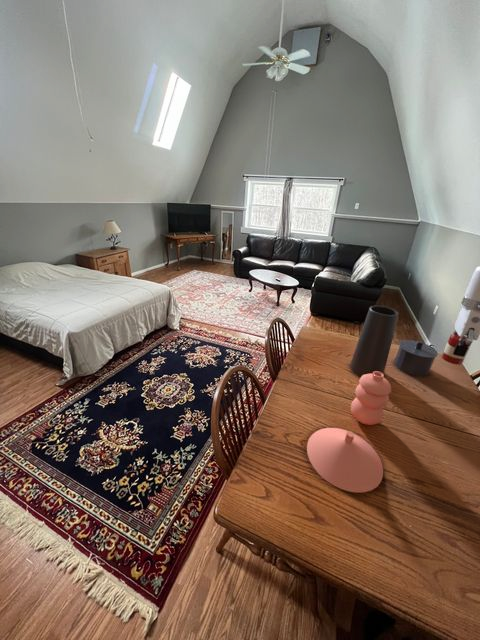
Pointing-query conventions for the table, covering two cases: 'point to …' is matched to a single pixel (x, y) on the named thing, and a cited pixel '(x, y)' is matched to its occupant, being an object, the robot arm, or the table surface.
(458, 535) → the table surface
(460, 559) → the table surface
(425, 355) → the pot lid
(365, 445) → the ceramic vessels
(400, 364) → the pot
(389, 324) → the vase
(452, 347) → the sauce can
